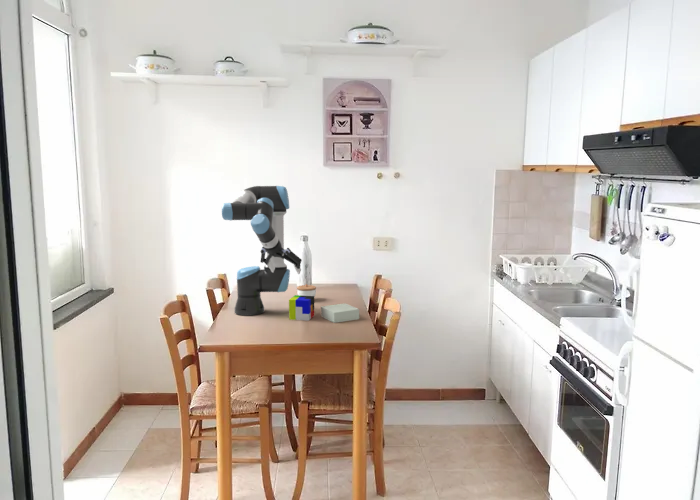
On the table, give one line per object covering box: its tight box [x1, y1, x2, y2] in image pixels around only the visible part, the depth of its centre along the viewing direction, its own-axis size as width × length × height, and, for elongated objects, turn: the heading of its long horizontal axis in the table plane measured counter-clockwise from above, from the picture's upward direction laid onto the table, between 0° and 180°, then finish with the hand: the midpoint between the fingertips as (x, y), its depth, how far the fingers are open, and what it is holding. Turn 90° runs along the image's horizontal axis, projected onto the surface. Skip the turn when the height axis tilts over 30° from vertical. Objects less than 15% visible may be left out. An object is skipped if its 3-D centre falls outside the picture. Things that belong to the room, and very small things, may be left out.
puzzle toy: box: [288, 294, 315, 321], centre depth 273 cm, size 10×10×10 cm
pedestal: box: [320, 303, 360, 324], centre depth 273 cm, size 14×14×5 cm
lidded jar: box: [296, 283, 317, 298], centre depth 309 cm, size 11×11×9 cm
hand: (286, 271), depth 258 cm, fingers open, 13 cm apart
